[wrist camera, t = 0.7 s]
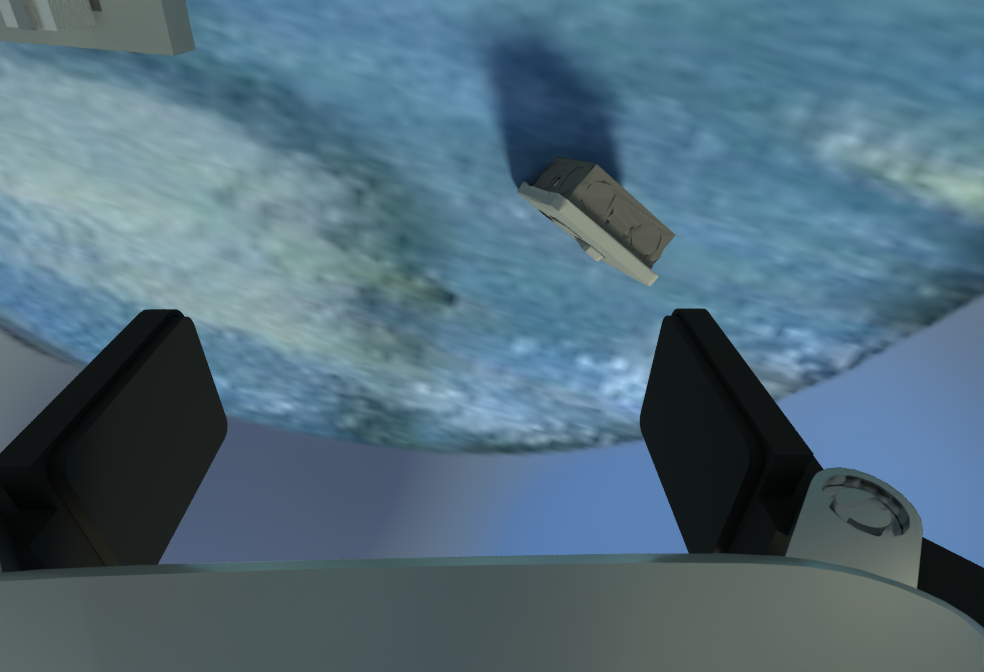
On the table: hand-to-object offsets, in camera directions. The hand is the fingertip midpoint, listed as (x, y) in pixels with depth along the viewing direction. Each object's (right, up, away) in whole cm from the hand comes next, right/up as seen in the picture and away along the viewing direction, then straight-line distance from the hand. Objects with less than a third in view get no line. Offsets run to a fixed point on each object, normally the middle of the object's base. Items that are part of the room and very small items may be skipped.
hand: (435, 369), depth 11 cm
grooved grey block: (-23, +20, +19) cm, 36 cm away
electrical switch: (+8, +12, +30) cm, 33 cm away
